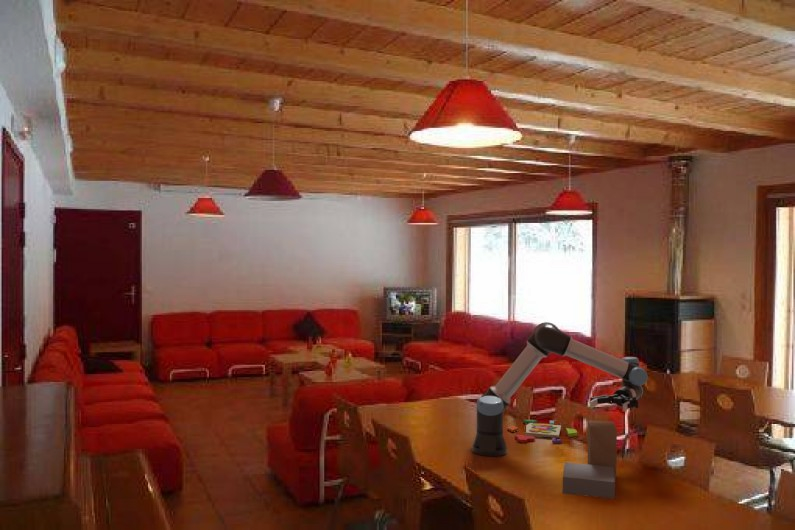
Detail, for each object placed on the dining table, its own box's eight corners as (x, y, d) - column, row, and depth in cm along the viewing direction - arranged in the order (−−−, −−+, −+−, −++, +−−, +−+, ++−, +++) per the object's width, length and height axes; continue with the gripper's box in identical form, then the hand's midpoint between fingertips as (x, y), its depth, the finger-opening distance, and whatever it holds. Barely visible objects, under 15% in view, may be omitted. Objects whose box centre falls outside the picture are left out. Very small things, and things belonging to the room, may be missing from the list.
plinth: (562, 493, 234) (562, 476, 234) (564, 477, 251) (564, 462, 251) (614, 499, 228) (614, 482, 228) (613, 482, 246) (613, 466, 246)
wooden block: (616, 479, 250) (617, 427, 249) (589, 477, 252) (590, 426, 251) (613, 471, 259) (613, 421, 259) (587, 469, 261) (588, 420, 261)
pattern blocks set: (502, 423, 336) (502, 417, 336) (567, 424, 335) (567, 418, 335) (513, 444, 298) (513, 437, 298) (586, 445, 297) (586, 438, 297)
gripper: (654, 407, 273) (638, 418, 256) (596, 402, 288) (578, 412, 271) (653, 390, 273) (637, 399, 256) (595, 385, 288) (577, 394, 271)
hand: (607, 406), depth 263 cm, fingers open, 13 cm apart
